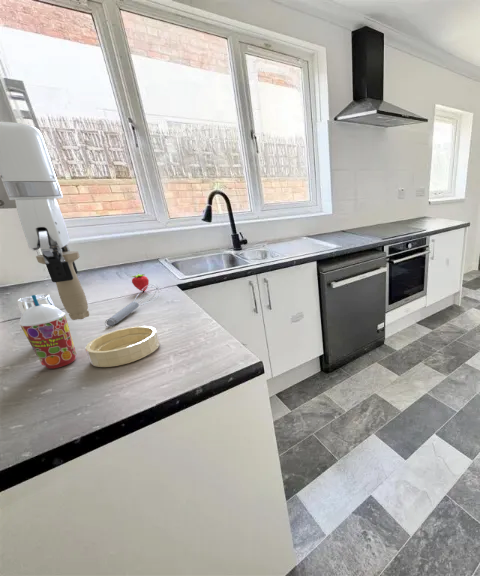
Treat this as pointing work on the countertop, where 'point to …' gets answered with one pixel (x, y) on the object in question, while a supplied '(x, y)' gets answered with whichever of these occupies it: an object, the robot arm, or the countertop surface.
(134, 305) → the kitchen whisk
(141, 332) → the bowl
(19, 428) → the countertop surface
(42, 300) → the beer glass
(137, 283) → the strawberry
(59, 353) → the smoothie
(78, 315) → the handle
